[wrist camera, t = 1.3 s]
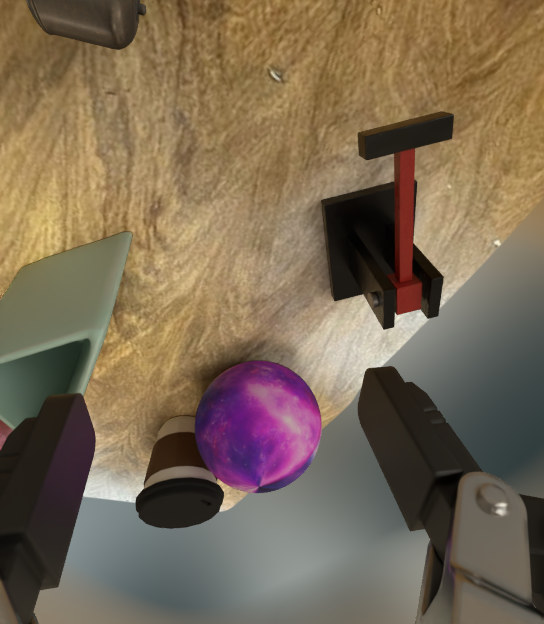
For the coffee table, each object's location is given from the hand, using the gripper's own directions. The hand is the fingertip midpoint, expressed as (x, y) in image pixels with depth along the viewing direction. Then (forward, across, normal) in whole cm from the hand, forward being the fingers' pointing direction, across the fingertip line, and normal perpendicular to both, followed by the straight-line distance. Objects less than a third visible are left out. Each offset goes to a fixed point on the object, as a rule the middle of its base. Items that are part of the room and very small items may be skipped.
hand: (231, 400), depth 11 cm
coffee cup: (+32, +6, +37) cm, 49 cm away
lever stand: (+28, -16, +7) cm, 33 cm away
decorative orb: (+30, -4, +26) cm, 40 cm away
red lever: (+20, -15, +2) cm, 25 cm away
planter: (+28, +15, +10) cm, 33 cm away
